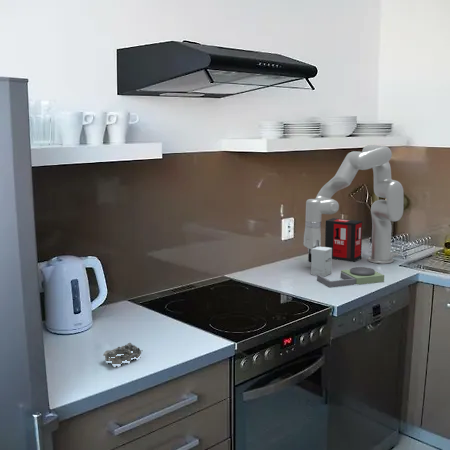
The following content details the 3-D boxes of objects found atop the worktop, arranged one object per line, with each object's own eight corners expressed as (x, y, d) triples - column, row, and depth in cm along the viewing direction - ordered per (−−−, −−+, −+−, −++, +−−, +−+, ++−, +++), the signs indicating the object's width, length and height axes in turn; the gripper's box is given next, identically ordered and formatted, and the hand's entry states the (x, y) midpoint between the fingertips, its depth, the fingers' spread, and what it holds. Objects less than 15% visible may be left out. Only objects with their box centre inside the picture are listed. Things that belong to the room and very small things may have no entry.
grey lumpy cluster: (114, 370, 165) (113, 357, 164) (101, 362, 170) (100, 350, 169) (144, 359, 172) (144, 347, 171) (131, 352, 177) (130, 340, 176)
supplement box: (324, 277, 258) (325, 250, 256) (310, 274, 263) (310, 248, 260) (331, 273, 264) (332, 247, 262) (317, 271, 268) (318, 245, 266)
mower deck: (367, 273, 263) (367, 265, 262) (384, 281, 250) (384, 272, 249) (315, 279, 255) (315, 270, 254) (330, 287, 242) (330, 278, 241)
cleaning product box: (361, 258, 292) (362, 221, 288) (354, 262, 285) (355, 223, 281) (332, 254, 301) (333, 218, 298) (324, 257, 294) (325, 220, 291)
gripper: (299, 222, 273) (298, 258, 277) (313, 227, 259) (311, 266, 263) (313, 221, 276) (312, 257, 279) (327, 227, 262) (326, 264, 265)
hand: (311, 261), depth 271 cm, fingers closed
